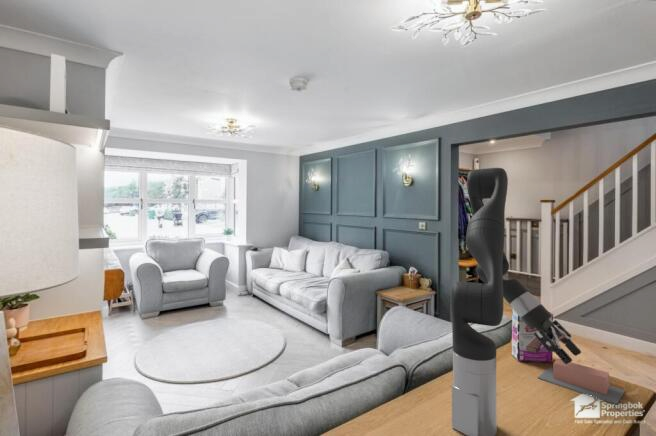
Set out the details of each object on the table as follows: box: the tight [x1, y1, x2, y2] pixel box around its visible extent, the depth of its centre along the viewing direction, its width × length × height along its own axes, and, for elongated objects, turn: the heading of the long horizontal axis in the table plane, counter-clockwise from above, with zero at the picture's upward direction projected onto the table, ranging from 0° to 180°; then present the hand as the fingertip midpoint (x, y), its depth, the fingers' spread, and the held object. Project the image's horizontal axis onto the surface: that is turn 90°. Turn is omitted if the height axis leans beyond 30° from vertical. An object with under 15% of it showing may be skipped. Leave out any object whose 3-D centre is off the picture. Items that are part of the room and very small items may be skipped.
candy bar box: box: [511, 308, 554, 363], centre depth 111 cm, size 11×5×16 cm, turn 84°
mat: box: [537, 366, 626, 406], centre depth 94 cm, size 10×18×1 cm, turn 39°
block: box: [552, 358, 610, 395], centre depth 94 cm, size 4×4×12 cm
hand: (574, 358), depth 95 cm, fingers open, 8 cm apart
